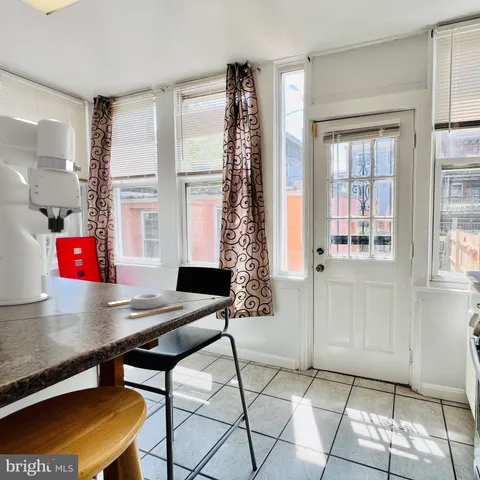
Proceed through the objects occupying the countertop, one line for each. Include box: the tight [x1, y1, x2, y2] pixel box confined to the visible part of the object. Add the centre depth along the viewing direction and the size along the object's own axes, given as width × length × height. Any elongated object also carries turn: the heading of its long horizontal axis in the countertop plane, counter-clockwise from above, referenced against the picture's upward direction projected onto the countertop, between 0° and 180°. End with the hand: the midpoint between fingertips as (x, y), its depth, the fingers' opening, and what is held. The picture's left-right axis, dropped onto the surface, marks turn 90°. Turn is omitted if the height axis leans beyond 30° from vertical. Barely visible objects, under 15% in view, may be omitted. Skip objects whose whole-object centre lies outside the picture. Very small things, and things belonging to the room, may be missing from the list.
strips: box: [107, 299, 184, 319], centre depth 86 cm, size 20×14×1 cm
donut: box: [129, 292, 167, 310], centre depth 87 cm, size 10×4×10 cm
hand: (56, 232), depth 76 cm, fingers closed
